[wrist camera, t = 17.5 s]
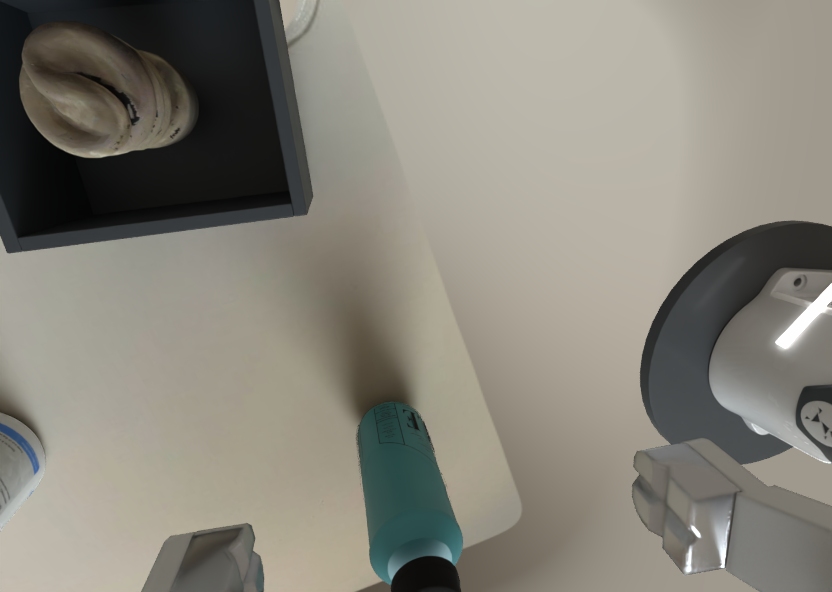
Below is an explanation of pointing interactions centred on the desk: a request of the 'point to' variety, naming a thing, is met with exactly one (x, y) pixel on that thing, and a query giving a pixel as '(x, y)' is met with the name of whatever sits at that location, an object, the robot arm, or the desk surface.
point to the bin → (171, 165)
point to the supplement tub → (18, 465)
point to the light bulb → (102, 92)
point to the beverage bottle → (406, 503)
